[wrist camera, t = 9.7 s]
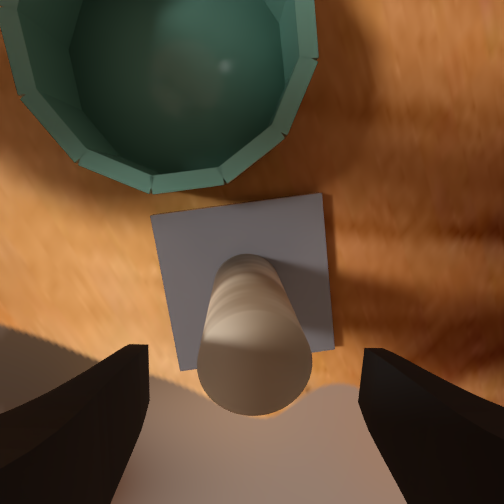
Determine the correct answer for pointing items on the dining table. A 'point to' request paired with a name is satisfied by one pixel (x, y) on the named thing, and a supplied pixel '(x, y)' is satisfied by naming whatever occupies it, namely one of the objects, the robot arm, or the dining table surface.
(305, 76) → the green pot
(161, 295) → the dining table surface
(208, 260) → the charcoal coaster
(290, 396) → the birch dowel
